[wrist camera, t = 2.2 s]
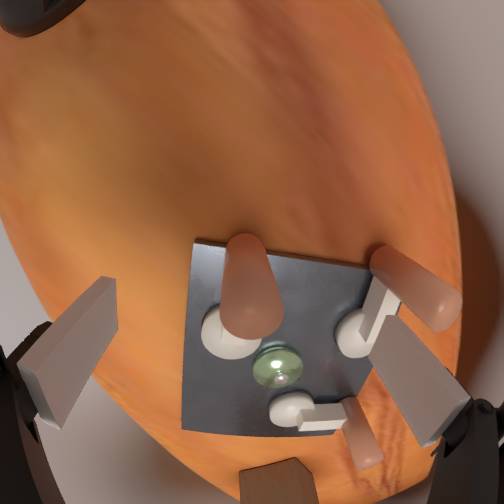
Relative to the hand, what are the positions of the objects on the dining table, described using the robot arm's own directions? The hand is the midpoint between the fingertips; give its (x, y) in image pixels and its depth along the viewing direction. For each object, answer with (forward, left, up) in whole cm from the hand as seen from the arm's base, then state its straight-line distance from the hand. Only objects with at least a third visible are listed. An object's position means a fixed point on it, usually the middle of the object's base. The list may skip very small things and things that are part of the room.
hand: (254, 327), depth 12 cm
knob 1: (+4, 0, -10) cm, 10 cm away
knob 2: (+17, +11, -10) cm, 22 cm away
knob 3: (+3, +12, -10) cm, 16 cm away
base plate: (+12, +6, -11) cm, 17 cm away
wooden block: (+39, +12, -11) cm, 42 cm away
